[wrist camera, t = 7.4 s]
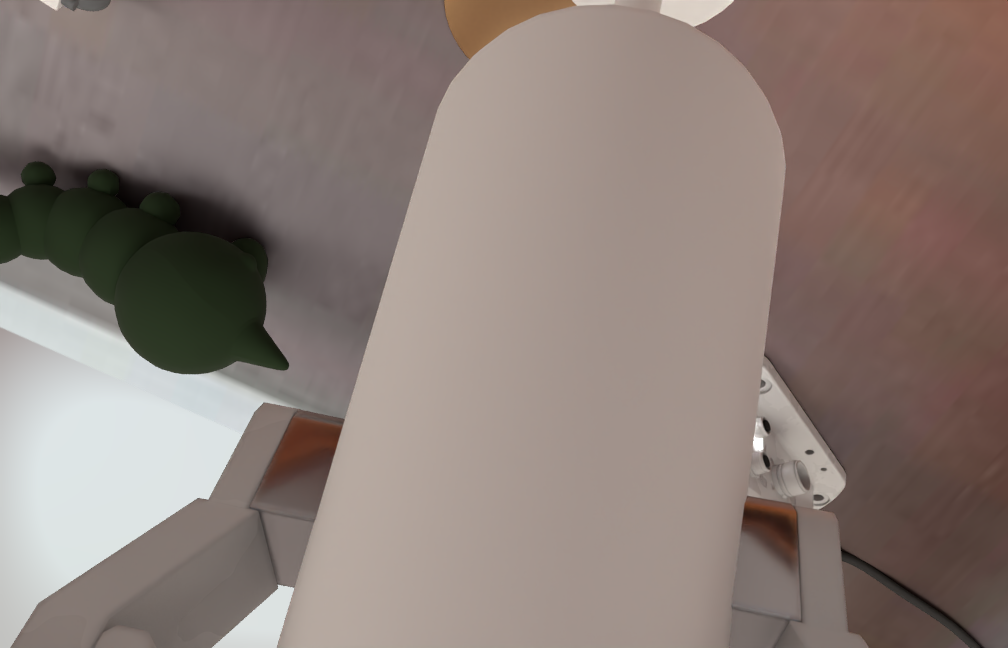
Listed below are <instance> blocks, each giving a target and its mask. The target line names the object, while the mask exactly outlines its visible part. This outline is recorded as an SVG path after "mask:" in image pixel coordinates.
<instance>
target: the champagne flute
mask: <svg viewBox="0 0 1008 648" xmlns="http://www.w3.org/2000/svg"><path fill="white" fill-rule="evenodd" d="M572 1H573V2H574V3H575V4H576V5H577V6H572V7H568V8H564V9H560V10H556V11H551V12H547V13H543V14H539V15H537V16H535V17H533V18H530V19H528V20H526V21H524V22H522V23H520V24H518V25H515V26H513V27H511V28H509V29H507V30H506V31H504V32H503V33H502V34H500V35H499V36H498V37H496V38H495V39H494V40H492V41H491V42H490V43H488V44H487V45H486V46H484V47H483V48H482V49H481V50H479V51H478V52H477V53H476V54H475V55H474V56H473V57H472V58H471V59H470V60H469V61H468V62H467V64H466V65H465V66H464V67H463V68H462V70H461V71H460V72H459V73H458V74H457V75H456V77H455V78H454V79H453V80H452V82H451V84H450V86H449V88H448V89H447V91H446V93H445V95H444V97H443V99H442V101H441V103H440V105H439V107H438V110H437V113H436V116H435V120H434V123H433V126H432V130H431V133H430V136H429V140H428V143H427V146H426V150H425V153H424V156H423V160H422V163H421V167H420V170H419V173H418V177H417V180H416V183H415V187H414V190H413V193H412V197H411V200H410V203H409V207H408V210H407V213H406V217H405V220H404V223H403V227H402V230H401V233H400V237H399V240H398V243H397V247H396V250H395V254H394V257H393V260H392V264H391V267H390V270H389V274H388V277H387V280H386V284H385V287H384V290H383V294H382V297H381V300H380V304H379V307H378V310H377V314H376V317H375V320H374V324H373V327H372V330H371V334H370V337H369V341H368V344H367V347H366V351H365V354H364V357H363V361H362V364H361V367H360V371H359V374H358V377H357V381H356V384H355V387H354V391H353V394H352V397H351V401H350V404H349V407H348V411H347V414H346V417H345V421H344V424H343V428H342V431H341V434H340V438H339V441H338V444H337V448H336V451H335V455H334V458H333V462H332V465H331V468H330V472H329V475H328V479H327V482H326V485H325V489H324V492H323V496H322V499H321V503H320V506H319V509H318V513H317V516H316V520H315V521H314V525H313V528H312V531H311V535H310V538H309V541H308V545H307V548H306V551H305V555H304V558H303V561H302V565H301V568H300V571H299V575H298V578H297V581H296V585H295V588H294V592H293V595H292V598H291V602H290V605H289V608H288V612H287V615H286V618H285V622H284V625H283V629H282V632H281V635H280V639H279V642H278V645H277V648H729V644H730V635H731V625H732V615H733V610H732V607H731V604H732V596H733V588H734V581H735V573H736V565H737V557H738V549H739V541H740V534H741V526H742V519H743V511H744V504H745V501H746V498H747V493H748V484H749V476H750V468H751V459H752V451H753V442H754V434H755V426H756V417H757V409H758V400H759V392H760V384H761V375H762V367H763V359H764V350H765V342H766V333H767V325H768V317H769V308H770V300H771V291H772V283H773V275H774V266H775V258H776V250H777V241H778V233H779V224H780V216H781V208H782V199H783V190H784V181H785V171H786V162H785V155H784V148H783V141H782V134H781V132H780V129H779V127H778V124H777V122H776V119H775V117H774V114H773V112H772V109H771V107H770V104H769V102H768V100H767V98H766V96H765V94H764V93H763V91H762V90H761V89H760V87H759V86H758V84H757V83H756V81H755V80H754V79H753V77H752V76H751V74H750V73H749V71H748V70H747V68H746V67H745V66H744V65H743V64H742V63H741V62H740V61H739V60H738V59H736V58H735V57H734V56H733V55H732V54H731V53H730V52H729V51H728V50H727V49H726V48H725V47H723V46H722V45H721V44H720V43H719V42H718V41H716V40H714V39H713V38H711V37H709V36H708V35H706V34H704V33H703V32H701V31H699V30H698V29H696V28H694V26H697V25H699V24H702V23H704V22H706V21H708V20H709V19H711V18H712V17H714V16H715V15H717V14H718V13H720V12H721V11H723V10H724V9H725V8H726V7H728V6H729V5H730V4H731V3H732V2H733V1H734V0H572Z"/></svg>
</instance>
